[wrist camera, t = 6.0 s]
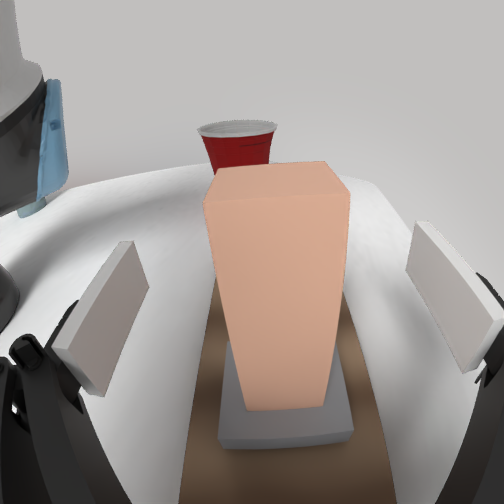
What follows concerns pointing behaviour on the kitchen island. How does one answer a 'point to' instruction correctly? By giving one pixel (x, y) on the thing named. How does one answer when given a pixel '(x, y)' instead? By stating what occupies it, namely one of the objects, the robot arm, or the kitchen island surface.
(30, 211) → the grey-green tumbler
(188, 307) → the kitchen island surface
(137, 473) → the kitchen island surface
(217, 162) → the plastic cup
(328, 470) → the fader board
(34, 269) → the kitchen island surface
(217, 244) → the fader knob
